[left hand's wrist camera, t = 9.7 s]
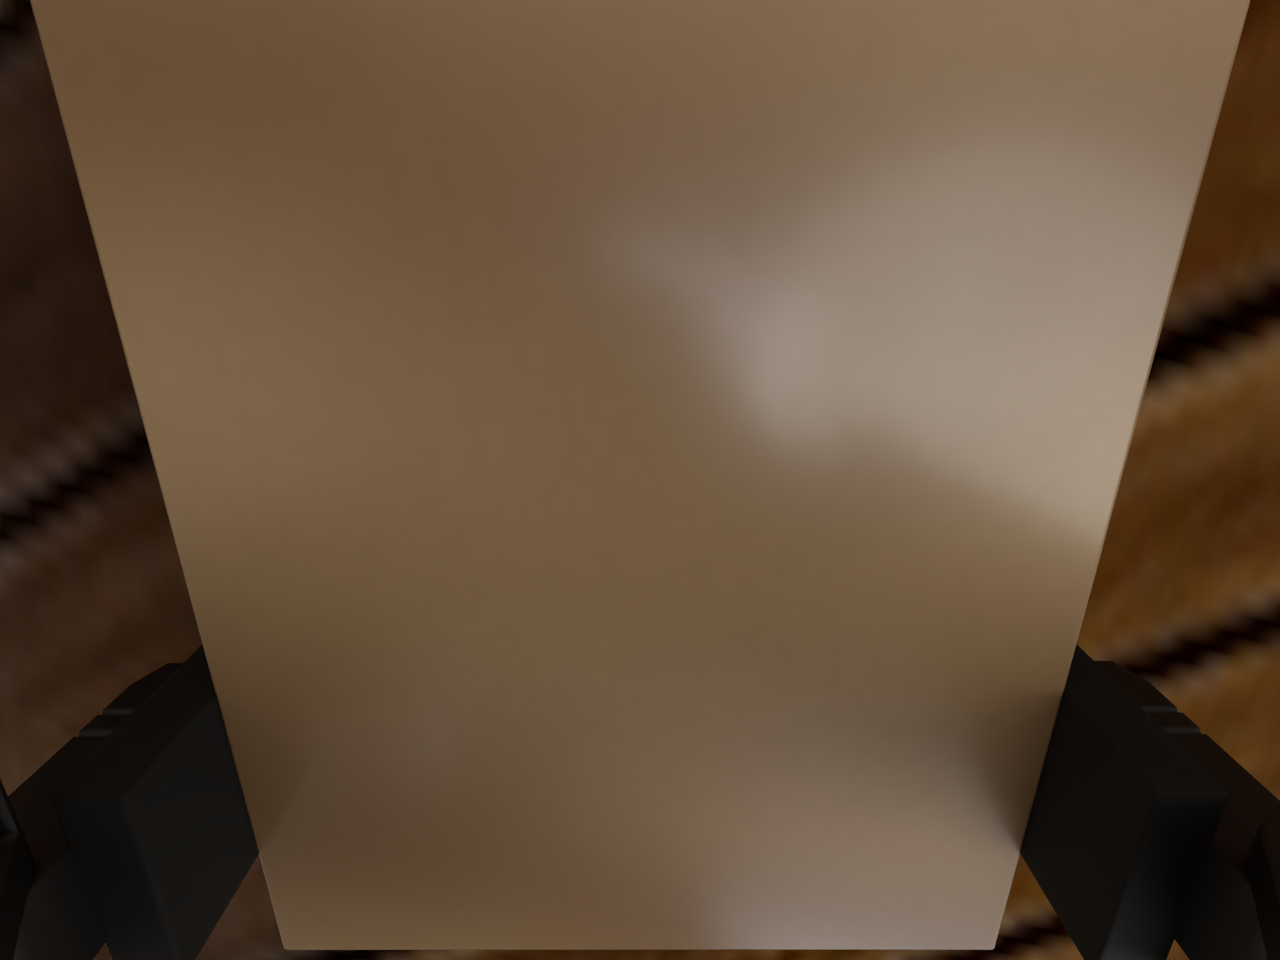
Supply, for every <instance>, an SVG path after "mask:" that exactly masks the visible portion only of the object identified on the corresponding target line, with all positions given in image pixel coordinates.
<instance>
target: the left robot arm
mask: <svg viewBox="0 0 1280 960" xmlns="http://www.w3.org/2000/svg"><path fill="white" fill-rule="evenodd" d="M258 854H259V853H258V850H257V846H256V842H255V838H254V835H253V831H252V827H251V823H250V820H249V816H248V812H247V808H246V805H245V801H244V797H243V794H242V790H241V786H240V782H239V779H238V775H237V771H236V767H235V764H234V760H233V756H232V752H231V749H230V745H229V741H228V738H227V734H226V730H225V726H224V723H223V719H222V715H221V711H220V708H219V704H218V700H217V696H216V693H215V689H214V685H213V682H212V678H211V674H210V670H209V667H208V663H207V659H206V655H205V652H204V648H203V644H202V645H201V646H200V647H199V648H198V649H197V650H196V651H195V652H194V653H193V654H192V655H191V656H190V657H189V658H188V659H187V660H186V661H185V662H184V663H168V664H166V665H164V666H163V667H161V668H159V669H157V670H156V671H154V672H152V673H151V674H149V675H147V676H145V677H144V678H142V679H140V680H138V681H137V682H135V683H133V684H131V685H130V686H129V687H128V688H127V689H126V690H125V691H124V692H122V693H121V694H120V695H119V696H118V697H117V698H116V699H115V700H114V701H113V702H111V703H110V704H109V705H108V706H107V707H106V708H105V709H104V710H103V714H102V715H97V716H96V717H95V718H94V719H93V720H92V721H91V722H90V723H88V724H87V725H86V726H85V727H84V728H83V729H82V730H81V731H80V734H79V737H73V738H72V739H71V740H70V741H69V742H68V743H67V744H65V745H64V746H63V747H62V748H61V749H60V750H59V751H58V752H57V753H56V754H55V755H53V756H52V757H51V758H50V759H49V760H48V761H47V762H46V763H45V764H44V765H42V766H41V767H40V768H39V769H38V770H37V771H36V772H35V773H34V774H33V775H32V776H30V777H29V778H28V779H27V780H26V781H25V782H24V783H23V784H22V785H21V786H19V787H18V788H17V789H16V790H15V791H14V792H13V793H12V794H11V795H10V796H9V797H8V796H7V793H6V791H5V789H4V786H3V784H2V782H1V779H0V960H92V959H93V958H94V957H95V955H96V954H97V953H98V951H99V950H100V948H101V947H102V946H103V944H104V943H105V942H106V943H107V946H108V948H109V951H110V954H111V956H112V959H113V960H195V959H196V957H197V955H198V954H199V952H200V950H201V949H202V947H203V945H204V944H205V942H206V940H207V939H208V937H209V935H210V934H211V932H212V930H213V929H214V927H215V926H216V924H217V922H218V921H219V919H220V917H221V916H222V914H223V912H224V911H225V909H226V907H227V906H228V904H229V902H230V901H231V899H232V897H233V896H234V894H235V892H236V891H237V889H238V887H239V886H240V884H241V882H242V881H243V879H244V877H245V876H246V874H247V872H248V871H249V869H250V867H251V866H252V864H253V862H254V861H255V859H256V857H257V856H258ZM1020 854H1021V855H1022V857H1023V859H1024V860H1025V862H1026V864H1027V865H1028V867H1029V869H1030V870H1031V872H1032V874H1033V875H1034V877H1035V879H1036V880H1037V882H1038V884H1039V885H1040V887H1041V889H1042V890H1043V892H1044V894H1045V895H1046V897H1047V899H1048V900H1049V902H1050V904H1051V905H1052V907H1053V908H1054V910H1055V912H1056V913H1057V915H1058V917H1059V918H1060V920H1061V922H1062V923H1063V925H1064V927H1065V928H1066V930H1067V932H1068V933H1069V935H1070V937H1071V938H1072V940H1073V942H1074V943H1075V945H1076V947H1077V948H1078V950H1079V952H1080V953H1081V955H1082V957H1083V958H1084V960H1166V959H1167V956H1168V953H1169V951H1170V948H1171V946H1172V943H1173V941H1174V939H1175V940H1176V942H1177V943H1178V944H1179V946H1180V947H1181V948H1182V950H1183V951H1184V952H1185V954H1186V955H1187V956H1188V958H1189V959H1190V960H1280V801H1279V800H1278V799H1277V798H1276V797H1275V796H1274V795H1273V794H1272V793H1270V792H1269V791H1268V790H1267V789H1266V788H1265V787H1264V786H1263V785H1262V784H1260V783H1259V782H1258V781H1257V780H1256V779H1255V778H1254V777H1253V776H1252V775H1251V774H1249V773H1248V772H1247V771H1246V770H1245V769H1244V768H1243V767H1242V766H1241V765H1240V764H1238V763H1237V762H1236V761H1235V760H1234V759H1233V758H1232V757H1231V756H1230V755H1229V754H1227V753H1226V752H1225V751H1224V750H1223V749H1222V748H1221V747H1220V746H1219V745H1217V744H1216V743H1215V742H1214V741H1213V740H1212V739H1211V738H1210V737H1209V736H1208V735H1206V734H1201V732H1200V728H1199V727H1198V726H1197V725H1195V724H1194V723H1193V722H1192V721H1191V720H1190V719H1189V718H1188V717H1187V716H1186V715H1184V714H1183V713H1178V712H1177V707H1176V706H1174V705H1173V704H1172V703H1171V702H1170V701H1169V700H1168V699H1167V698H1166V697H1165V696H1163V695H1162V694H1161V693H1160V692H1159V691H1158V690H1157V689H1156V688H1155V687H1154V686H1152V685H1151V684H1150V683H1149V682H1147V681H1146V680H1144V679H1142V678H1140V677H1139V676H1137V675H1135V674H1134V673H1132V672H1130V671H1128V670H1127V669H1125V668H1123V667H1121V666H1120V665H1118V664H1116V663H1114V662H1113V661H1093V660H1092V659H1091V658H1090V657H1089V656H1088V655H1087V654H1086V653H1085V652H1084V651H1083V650H1082V649H1081V648H1080V647H1079V646H1078V645H1077V644H1076V648H1075V651H1074V655H1073V659H1072V662H1071V666H1070V670H1069V674H1068V677H1067V681H1066V685H1065V688H1064V692H1063V696H1062V699H1061V703H1060V707H1059V711H1058V714H1057V718H1056V722H1055V725H1054V729H1053V733H1052V737H1051V740H1050V744H1049V748H1048V751H1047V755H1046V759H1045V762H1044V766H1043V770H1042V774H1041V777H1040V781H1039V785H1038V788H1037V792H1036V796H1035V800H1034V803H1033V807H1032V811H1031V814H1030V818H1029V822H1028V825H1027V829H1026V833H1025V837H1024V840H1023V844H1022V848H1021V851H1020Z"/></svg>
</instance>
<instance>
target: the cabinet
mask: <svg viewBox="0 0 1280 960" xmlns="http://www.w3.org/2000/svg"><path fill="white" fill-rule="evenodd" d="M30 2H31V6H32V9H33V13H34V17H35V21H36V24H37V28H38V32H39V36H40V39H41V43H42V47H43V50H44V54H45V58H46V62H47V65H48V69H49V73H50V77H51V80H52V84H53V88H54V92H55V95H56V99H57V103H58V107H59V110H60V114H61V118H62V121H63V125H64V129H65V133H66V136H67V140H68V144H69V148H70V151H71V155H72V159H73V163H74V166H75V170H76V174H77V177H78V181H79V185H80V189H81V192H82V196H83V200H84V204H85V207H86V211H87V215H88V219H89V222H90V226H91V230H92V233H93V237H94V241H95V245H96V248H97V252H98V256H99V260H100V263H101V267H102V271H103V275H104V278H105V282H106V286H107V289H108V293H109V297H110V301H111V304H112V308H113V312H114V316H115V319H116V323H117V327H118V331H119V334H120V338H121V342H122V345H123V349H124V353H125V357H126V360H127V364H128V368H129V372H130V375H131V379H132V383H133V387H134V390H135V394H136V398H137V401H138V405H139V409H140V413H141V416H142V420H143V424H144V428H145V431H146V435H147V439H148V443H149V446H150V450H151V454H152V457H153V461H154V465H155V469H156V472H157V476H158V480H159V484H160V487H161V491H162V495H163V499H164V502H165V506H166V510H167V514H168V517H169V521H170V525H171V528H172V532H173V536H174V540H175V543H176V547H177V551H178V555H179V558H180V562H181V566H182V570H183V573H184V577H185V581H186V584H187V588H188V592H189V596H190V599H191V603H192V607H193V611H194V614H195V618H196V622H197V626H198V629H199V633H200V637H201V640H202V644H203V648H204V652H205V655H206V659H207V663H208V667H209V670H210V674H211V678H212V682H213V685H214V689H215V693H216V696H217V700H218V704H219V708H220V711H221V715H222V719H223V723H224V726H225V730H226V734H227V738H228V741H229V745H230V749H231V752H232V756H233V760H234V764H235V767H236V771H237V775H238V779H239V782H240V786H241V790H242V794H243V797H244V801H245V805H246V808H247V812H248V816H249V820H250V823H251V827H252V831H253V835H254V838H255V842H256V846H257V850H258V853H259V857H260V861H261V864H262V868H263V872H264V876H265V879H266V883H267V887H268V891H269V894H270V898H271V902H272V906H273V909H274V913H275V917H276V921H277V924H278V928H279V932H280V935H281V939H282V943H283V947H284V949H286V950H992V949H994V948H995V944H996V940H997V937H998V933H999V929H1000V926H1001V922H1002V918H1003V914H1004V911H1005V907H1006V903H1007V900H1008V896H1009V892H1010V888H1011V885H1012V881H1013V877H1014V874H1015V870H1016V866H1017V863H1018V859H1019V855H1020V851H1021V848H1022V844H1023V840H1024V837H1025V833H1026V829H1027V825H1028V822H1029V818H1030V814H1031V811H1032V807H1033V803H1034V800H1035V796H1036V792H1037V788H1038V785H1039V781H1040V777H1041V774H1042V770H1043V766H1044V762H1045V759H1046V755H1047V751H1048V748H1049V744H1050V740H1051V737H1052V733H1053V729H1054V725H1055V722H1056V718H1057V714H1058V711H1059V707H1060V703H1061V699H1062V696H1063V692H1064V688H1065V685H1066V681H1067V677H1068V674H1069V670H1070V666H1071V662H1072V659H1073V655H1074V651H1075V648H1076V644H1077V640H1078V636H1079V633H1080V629H1081V625H1082V622H1083V618H1084V614H1085V610H1086V607H1087V603H1088V599H1089V596H1090V592H1091V588H1092V585H1093V581H1094V577H1095V573H1096V570H1097V566H1098V562H1099V559H1100V555H1101V551H1102V547H1103V544H1104V540H1105V536H1106V533H1107V529H1108V525H1109V522H1110V518H1111V514H1112V510H1113V507H1114V503H1115V499H1116V496H1117V492H1118V488H1119V484H1120V481H1121V477H1122V473H1123V470H1124V466H1125V462H1126V459H1127V455H1128V451H1129V447H1130V444H1131V440H1132V436H1133V433H1134V429H1135V425H1136V421H1137V418H1138V414H1139V410H1140V407H1141V403H1142V399H1143V396H1144V392H1145V388H1146V384H1147V381H1148V377H1149V373H1150V370H1151V366H1152V362H1153V358H1154V355H1155V351H1156V347H1157V344H1158V340H1159V336H1160V332H1161V329H1162V325H1163V321H1164V318H1165V314H1166V310H1167V307H1168V303H1169V299H1170V295H1171V292H1172V288H1173V284H1174V281H1175V277H1176V273H1177V269H1178V266H1179V262H1180V258H1181V255H1182V251H1183V247H1184V244H1185V240H1186V236H1187V232H1188V229H1189V225H1190V221H1191V218H1192V214H1193V210H1194V206H1195V203H1196V199H1197V195H1198V192H1199V188H1200V184H1201V181H1202V177H1203V173H1204V169H1205V166H1206V162H1207V158H1208V155H1209V151H1210V147H1211V143H1212V140H1213V136H1214V132H1215V129H1216V125H1217V121H1218V118H1219V114H1220V110H1221V106H1222V103H1223V99H1224V95H1225V92H1226V88H1227V84H1228V80H1229V77H1230V73H1231V69H1232V66H1233V62H1234V58H1235V55H1236V51H1237V47H1238V43H1239V40H1240V36H1241V32H1242V29H1243V25H1244V21H1245V17H1246V14H1247V10H1248V6H1249V3H1250V0H30Z"/></svg>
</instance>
